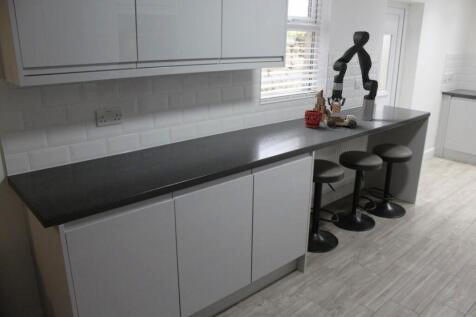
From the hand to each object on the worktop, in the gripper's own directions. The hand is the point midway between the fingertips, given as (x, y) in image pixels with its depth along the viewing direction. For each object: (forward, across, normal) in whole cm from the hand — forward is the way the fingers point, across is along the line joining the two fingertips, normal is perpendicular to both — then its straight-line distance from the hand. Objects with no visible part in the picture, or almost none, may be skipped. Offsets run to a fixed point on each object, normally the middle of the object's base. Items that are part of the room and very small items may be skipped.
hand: (335, 110), depth 301 cm
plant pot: (+12, +17, +8) cm, 22 cm away
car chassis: (+11, -5, 0) cm, 12 cm away
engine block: (+1, 0, 0) cm, 1 cm away
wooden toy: (+12, +8, -18) cm, 23 cm away
